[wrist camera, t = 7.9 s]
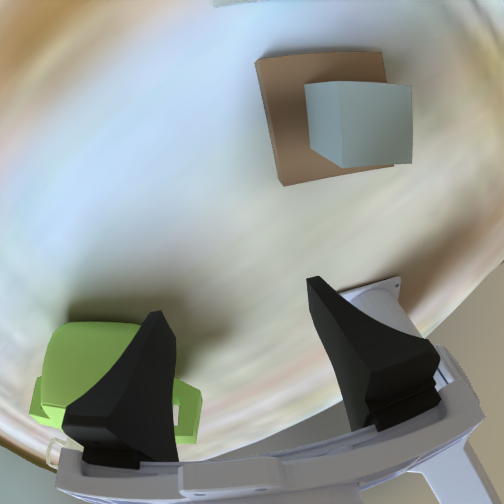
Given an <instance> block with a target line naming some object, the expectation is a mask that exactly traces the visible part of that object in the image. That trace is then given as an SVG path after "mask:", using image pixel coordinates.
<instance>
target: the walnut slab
mask: <svg viewBox="0 0 504 504" xmlns="http://www.w3.org/2000/svg"><path fill="white" fill-rule="evenodd" d="M254 64H255V68H256V72H257V77H258V81H259V86H260V90H261V95H262V99H263V104H264V109H265V114H266V118H267V123H268V128H269V133H270V138H271V143H272V148H273V153H274V158H275V164H276V169H277V174H278V179H279V181H280V182H281V183H282V185H283V186H289V185H294V184H299V183H303V182H308V181H313V180H318V179H324V178H329V177H334V176H340V175H345V174H351V173H356V172H362V171H368V170H374V169H380V168H387V167H393V166H394V164H393V165H377V166H364V167H352V168H341V167H340V166H338V165H336V164H335V163H333V162H332V161H330V160H328V159H327V158H325V157H324V156H322V155H320V154H319V153H317V152H315V151H314V150H312V149H310V139H309V127H308V116H307V106H306V96H305V87H304V84H312V83H321V82H332V81H355V82H375V83H387V82H386V75H385V69H384V63H383V58H382V53H381V52H323V53H308V54H297V55H287V56H279V57H271V58H264V59H258V60H257V61H256V62H255V63H254Z"/></svg>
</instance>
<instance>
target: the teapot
mask: <svg viewBox="0 0 504 504" xmlns="http://www.w3.org/2000/svg"><path fill="white" fill-rule="evenodd" d="M140 327H141V325H138V324H132V323H118V322H69V323H65V324H64V325H62V326H61V327H60V328H58V329H57V330H56V331H55V332H54V333H53V335H52V337H51V339H50V341H49V344H48V347H47V351H46V354H45V358H44V363H43V369H42V376H40V377H38V378H37V380H36V384H35V388H34V392H33V396H32V401H31V406H30V411H29V414H30V415H31V416H32V417H33V418H34V419H35V420H36V421H37V422H38V423H40V424H44V425H48V426H52V427H56V428H60V429H61V430H62V428H61V425H62V421H63V417H64V413H65V410H66V406H68V405H69V404H71V403H72V402H74V401H75V400H76V399H78V398H79V397H81V396H82V395H83V394H84V393H86V392H87V391H88V390H89V389H90V388H92V387H93V386H94V385H95V384H96V383H97V382H98V381H99V380H100V379H101V378H102V377H103V376H104V375H105V374H106V373H107V372H108V371H109V370H110V369H111V367H112V366H113V365H114V364H115V363H116V361H117V360H118V359H119V358H120V356H121V355H122V353H123V352H124V351H125V349H126V348H127V346H128V345H129V344H130V342H131V341H132V339H133V338H134V336H135V335H136V333H137V332H138V330H139V328H140ZM172 404H175V405H177V406H179V415H178V426H174V433H175V440H176V444H196V440H197V433H198V426H199V420H200V414H201V407H202V396H201V391H200V390H198V389H196V388H194V387H192V386H190V385H188V384H186V383H185V382H183V381H181V380H179V379H177V378H175V377H174V383H173V396H172ZM62 431H63V430H62ZM75 442H76V441H75ZM78 444H79V443H78ZM79 445H80V444H79ZM81 446H82V445H81Z"/></svg>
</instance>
